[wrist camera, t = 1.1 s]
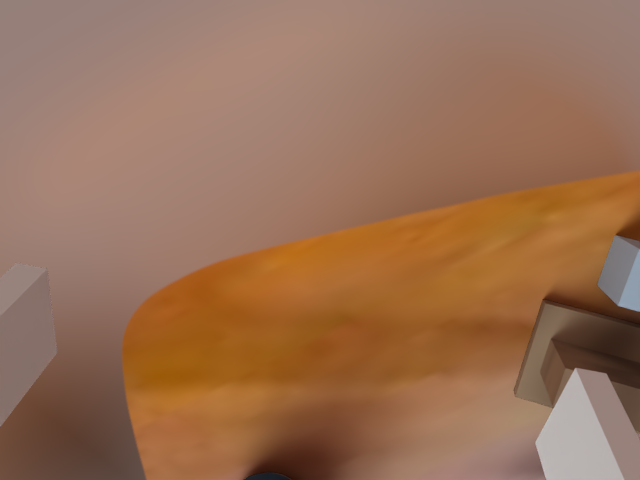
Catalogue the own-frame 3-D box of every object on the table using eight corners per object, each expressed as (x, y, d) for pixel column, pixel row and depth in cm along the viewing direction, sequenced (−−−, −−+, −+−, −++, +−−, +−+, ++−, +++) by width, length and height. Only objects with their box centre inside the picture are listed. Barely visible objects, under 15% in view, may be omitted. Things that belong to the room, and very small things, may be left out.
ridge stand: (701, 340, 35) (749, 379, 30) (663, 434, 37) (702, 488, 31) (542, 298, 37) (559, 328, 32) (513, 390, 39) (524, 434, 33)
